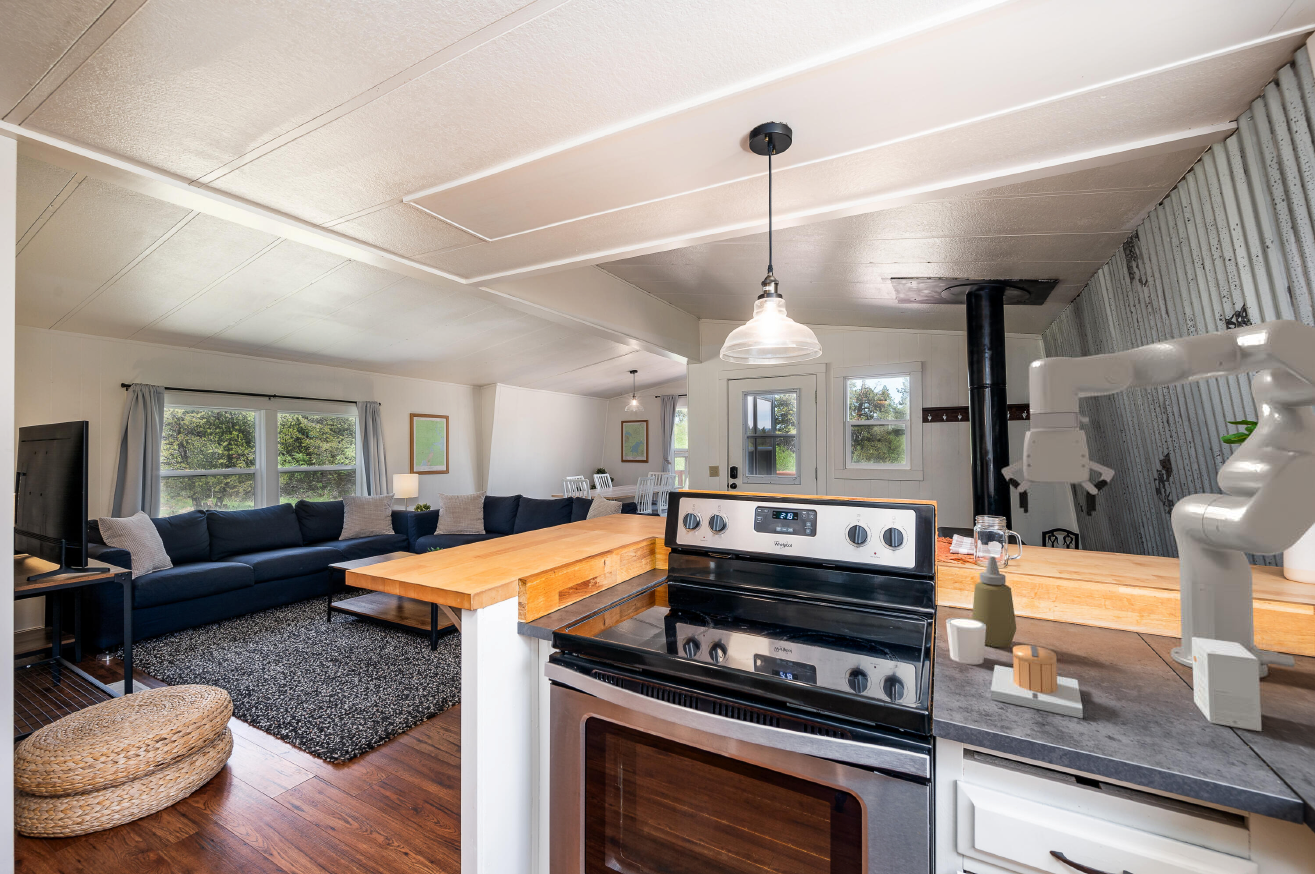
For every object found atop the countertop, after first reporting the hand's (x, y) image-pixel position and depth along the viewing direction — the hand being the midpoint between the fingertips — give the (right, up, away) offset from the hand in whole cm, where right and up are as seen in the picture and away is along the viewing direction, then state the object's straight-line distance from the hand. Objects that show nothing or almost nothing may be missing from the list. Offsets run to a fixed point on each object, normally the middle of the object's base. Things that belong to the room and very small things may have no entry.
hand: (1056, 513), depth 105 cm
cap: (-12, -27, -12) cm, 32 cm away
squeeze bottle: (-5, -29, +11) cm, 31 cm away
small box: (+11, -28, -21) cm, 37 cm away
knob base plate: (-12, -28, -12) cm, 33 cm away
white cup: (-15, -29, +3) cm, 33 cm away
